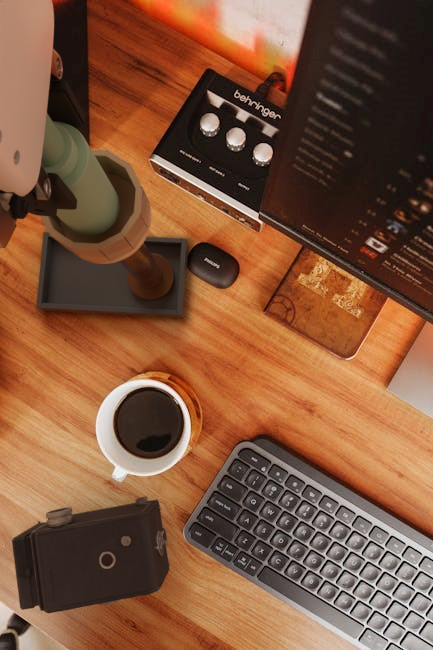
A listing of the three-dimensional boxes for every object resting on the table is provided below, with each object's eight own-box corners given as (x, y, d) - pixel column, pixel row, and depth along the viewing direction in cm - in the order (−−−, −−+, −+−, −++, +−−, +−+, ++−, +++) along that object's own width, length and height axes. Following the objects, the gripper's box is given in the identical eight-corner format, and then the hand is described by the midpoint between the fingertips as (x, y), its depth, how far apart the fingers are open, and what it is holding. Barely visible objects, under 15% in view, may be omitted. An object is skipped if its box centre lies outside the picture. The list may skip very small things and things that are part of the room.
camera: (159, 478, 66) (31, 505, 65) (154, 492, 55) (-1, 526, 54) (176, 570, 65) (46, 600, 63) (175, 604, 53) (16, 642, 52)
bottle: (58, 234, 41) (-27, 158, 28) (64, 177, 42) (-18, 74, 28) (117, 237, 41) (60, 162, 27) (122, 180, 41) (68, 78, 28)
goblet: (119, 306, 67) (33, 247, 39) (123, 246, 68) (43, 146, 40) (180, 309, 67) (137, 252, 39) (184, 249, 67) (145, 150, 40)
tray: (43, 310, 68) (36, 307, 66) (50, 237, 69) (43, 231, 67) (183, 318, 67) (181, 315, 65) (188, 243, 68) (186, 238, 66)
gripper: (-245, -379, 16) (8, 28, 34) (-348, 180, 14) (-22, 298, 32) (9, -377, 16) (129, 32, 34) (-59, 194, 14) (106, 305, 32)
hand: (54, 160), depth 33 cm, fingers closed on bottle, 4 cm apart
